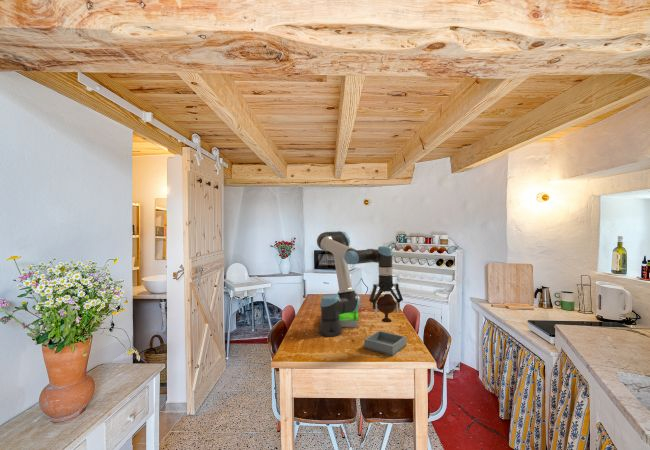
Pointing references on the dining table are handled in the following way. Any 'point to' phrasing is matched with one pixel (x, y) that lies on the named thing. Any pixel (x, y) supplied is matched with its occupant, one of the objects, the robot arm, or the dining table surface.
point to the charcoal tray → (385, 343)
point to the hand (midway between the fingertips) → (386, 314)
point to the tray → (349, 319)
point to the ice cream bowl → (386, 306)
